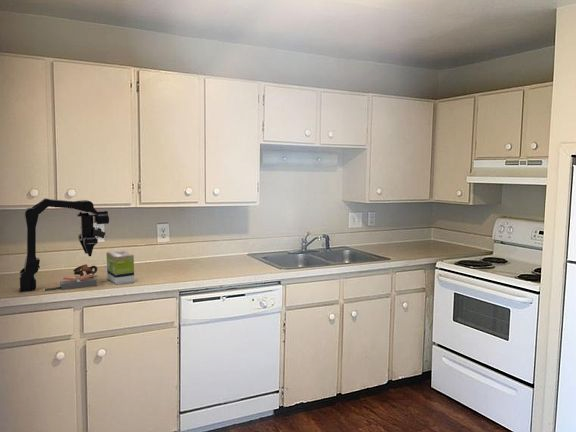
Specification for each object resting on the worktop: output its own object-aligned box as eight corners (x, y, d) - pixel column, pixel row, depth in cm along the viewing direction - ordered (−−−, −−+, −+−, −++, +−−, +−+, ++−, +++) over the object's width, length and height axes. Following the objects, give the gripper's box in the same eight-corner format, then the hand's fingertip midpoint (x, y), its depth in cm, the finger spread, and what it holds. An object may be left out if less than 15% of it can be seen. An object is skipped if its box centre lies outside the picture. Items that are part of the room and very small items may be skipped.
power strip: (45, 291, 225) (45, 285, 224) (44, 289, 230) (44, 282, 229) (96, 285, 237) (96, 279, 237) (94, 283, 242) (94, 277, 242)
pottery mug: (80, 281, 247) (73, 268, 248) (76, 286, 255) (70, 272, 255) (102, 272, 255) (95, 259, 256) (98, 277, 262) (91, 264, 263)
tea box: (106, 279, 251) (105, 252, 250) (125, 276, 258) (124, 250, 256) (115, 284, 240) (114, 256, 238) (135, 282, 246) (134, 254, 244)
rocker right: (81, 280, 234) (80, 278, 234) (80, 278, 237) (79, 276, 237) (93, 276, 238) (93, 274, 237) (92, 275, 240) (91, 273, 240)
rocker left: (63, 279, 230) (63, 277, 230) (62, 278, 232) (62, 276, 232) (76, 280, 233) (76, 278, 233) (75, 279, 236) (75, 277, 236)
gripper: (107, 225, 237) (108, 256, 239) (99, 222, 253) (100, 250, 254) (84, 227, 231) (85, 258, 233) (77, 223, 247) (78, 252, 248)
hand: (88, 254), depth 242 cm, fingers open, 9 cm apart
